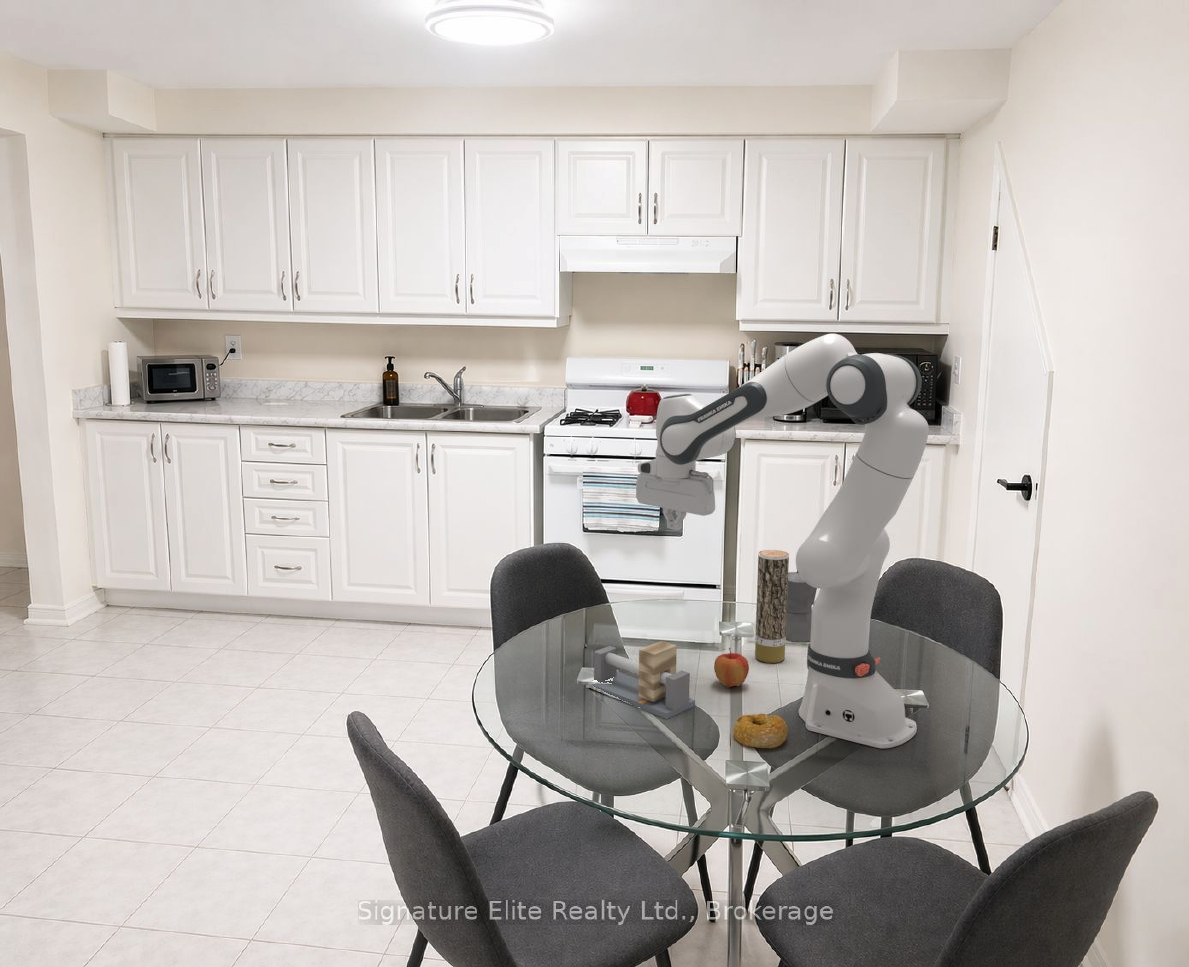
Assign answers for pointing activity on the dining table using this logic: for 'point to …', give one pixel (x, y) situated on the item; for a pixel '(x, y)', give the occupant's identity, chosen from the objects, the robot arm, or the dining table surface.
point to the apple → (731, 669)
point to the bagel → (760, 731)
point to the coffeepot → (799, 608)
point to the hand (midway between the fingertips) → (674, 528)
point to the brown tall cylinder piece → (771, 605)
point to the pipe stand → (629, 686)
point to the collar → (655, 669)
